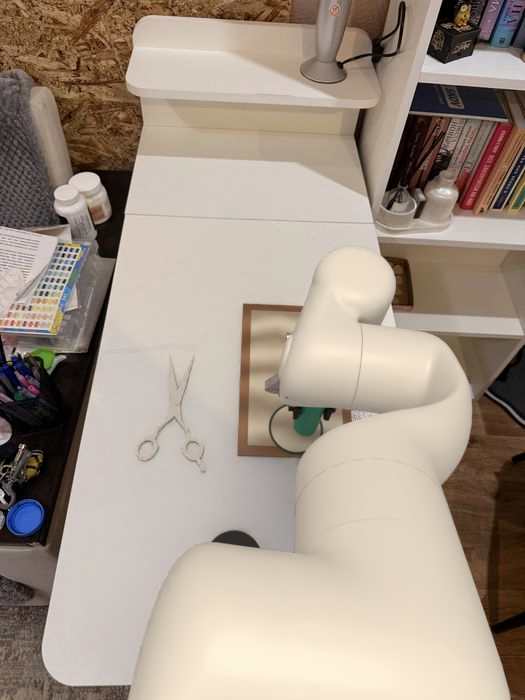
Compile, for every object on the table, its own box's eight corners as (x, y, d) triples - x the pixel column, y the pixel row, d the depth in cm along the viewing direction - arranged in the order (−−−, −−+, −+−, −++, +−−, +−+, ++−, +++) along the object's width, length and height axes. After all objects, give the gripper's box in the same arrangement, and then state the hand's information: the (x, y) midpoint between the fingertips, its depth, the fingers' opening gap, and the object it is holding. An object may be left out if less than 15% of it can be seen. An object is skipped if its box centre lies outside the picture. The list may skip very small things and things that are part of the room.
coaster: (261, 593, 69) (262, 593, 69) (202, 592, 69) (202, 592, 68) (262, 531, 73) (262, 530, 73) (206, 530, 73) (206, 529, 72)
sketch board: (353, 459, 79) (355, 457, 78) (237, 456, 78) (237, 454, 77) (341, 309, 93) (342, 306, 92) (243, 305, 92) (243, 302, 91)
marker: (316, 439, 76) (330, 406, 66) (292, 438, 76) (302, 405, 65) (315, 416, 78) (329, 381, 67) (292, 415, 78) (302, 380, 67)
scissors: (133, 469, 76) (149, 351, 85) (133, 470, 76) (150, 353, 86) (205, 471, 76) (213, 353, 86) (205, 472, 77) (213, 356, 86)
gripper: (256, 370, 53) (249, 433, 69) (413, 376, 54) (371, 438, 70) (257, 310, 57) (251, 383, 73) (404, 317, 57) (366, 388, 73)
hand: (310, 409), depth 71 cm, fingers closed on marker, 3 cm apart
